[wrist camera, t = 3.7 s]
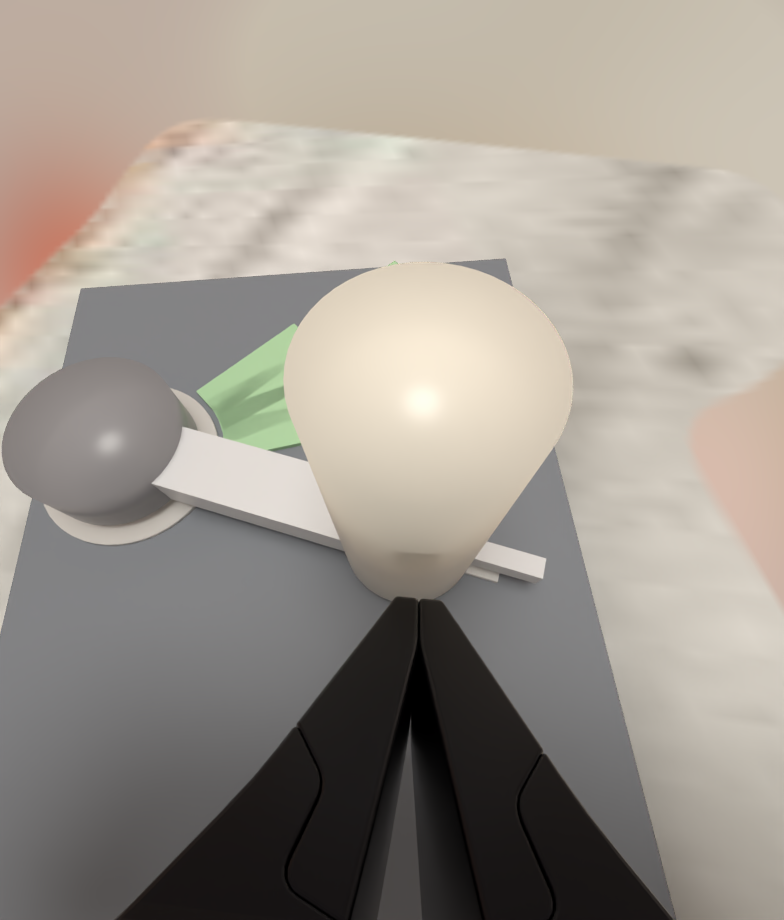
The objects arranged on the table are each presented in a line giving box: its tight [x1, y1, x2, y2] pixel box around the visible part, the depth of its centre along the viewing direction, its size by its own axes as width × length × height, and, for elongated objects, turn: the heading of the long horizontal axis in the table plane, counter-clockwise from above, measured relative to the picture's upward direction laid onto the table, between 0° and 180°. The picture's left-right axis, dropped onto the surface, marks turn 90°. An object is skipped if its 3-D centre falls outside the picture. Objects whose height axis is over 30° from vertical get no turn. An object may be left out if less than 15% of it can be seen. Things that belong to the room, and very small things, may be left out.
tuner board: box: [0, 259, 676, 920], centre depth 16 cm, size 23×18×1 cm
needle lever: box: [2, 262, 573, 602], centre depth 11 cm, size 16×5×9 cm, turn 73°
